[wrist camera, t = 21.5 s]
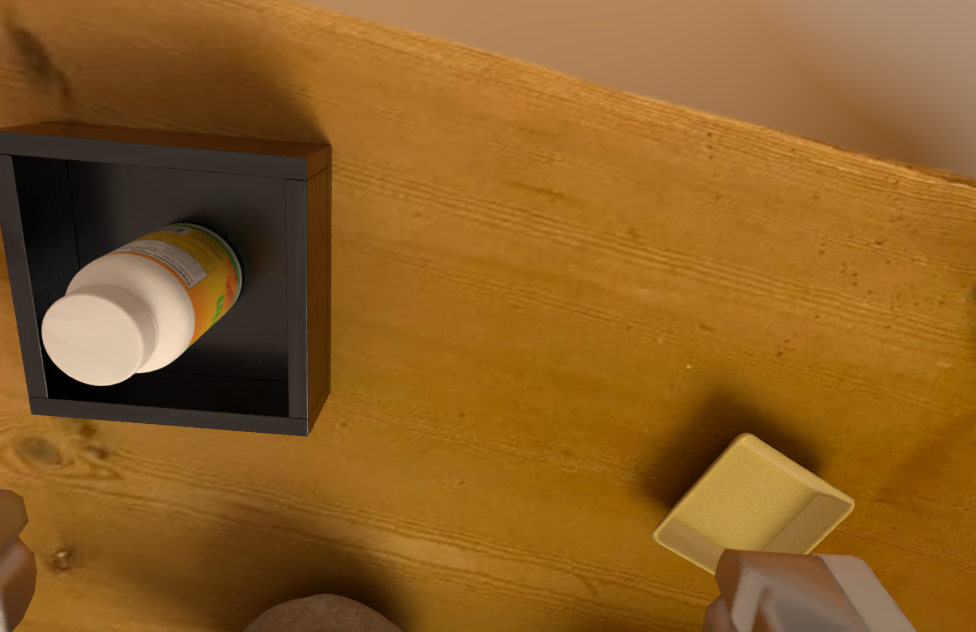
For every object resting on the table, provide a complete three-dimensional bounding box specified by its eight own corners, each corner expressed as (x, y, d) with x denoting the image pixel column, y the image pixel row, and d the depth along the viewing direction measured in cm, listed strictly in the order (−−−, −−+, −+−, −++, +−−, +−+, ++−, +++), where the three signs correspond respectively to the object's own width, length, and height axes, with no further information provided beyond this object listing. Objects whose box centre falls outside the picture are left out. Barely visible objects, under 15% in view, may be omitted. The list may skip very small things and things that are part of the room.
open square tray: (53, 120, 35) (-16, 130, 30) (332, 145, 35) (306, 157, 30) (86, 372, 40) (30, 414, 35) (330, 392, 40) (308, 436, 35)
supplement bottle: (207, 338, 38) (115, 427, 29) (122, 275, 36) (-3, 347, 27) (264, 267, 36) (186, 336, 27) (177, 199, 35) (65, 248, 26)
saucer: (844, 483, 41) (861, 504, 40) (748, 579, 44) (760, 603, 42) (733, 411, 40) (745, 430, 38) (641, 515, 42) (647, 537, 40)
